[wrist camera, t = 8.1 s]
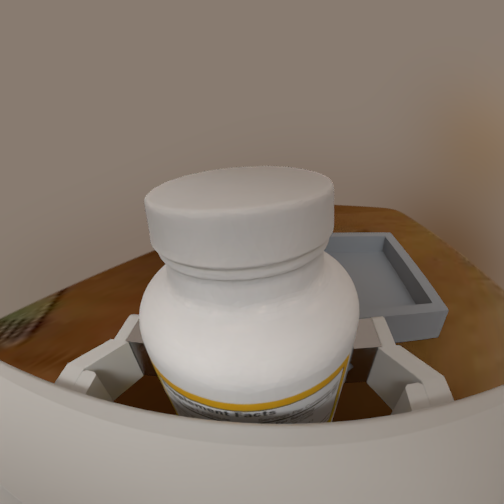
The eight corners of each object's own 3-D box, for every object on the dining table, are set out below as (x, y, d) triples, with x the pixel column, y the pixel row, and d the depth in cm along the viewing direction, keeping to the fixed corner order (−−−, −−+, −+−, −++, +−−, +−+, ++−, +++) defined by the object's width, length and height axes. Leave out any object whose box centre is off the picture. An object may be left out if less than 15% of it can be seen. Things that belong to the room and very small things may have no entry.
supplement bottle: (232, 378, 17) (203, 160, 11) (336, 406, 14) (377, 167, 8) (174, 461, 11) (54, 217, 6) (297, 509, 9) (373, 260, 3)
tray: (254, 348, 19) (251, 320, 18) (264, 255, 31) (263, 233, 30) (438, 337, 17) (448, 309, 16) (387, 253, 30) (390, 232, 29)
